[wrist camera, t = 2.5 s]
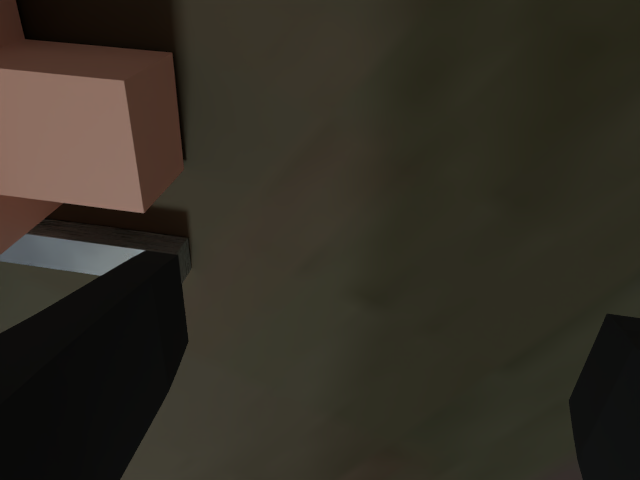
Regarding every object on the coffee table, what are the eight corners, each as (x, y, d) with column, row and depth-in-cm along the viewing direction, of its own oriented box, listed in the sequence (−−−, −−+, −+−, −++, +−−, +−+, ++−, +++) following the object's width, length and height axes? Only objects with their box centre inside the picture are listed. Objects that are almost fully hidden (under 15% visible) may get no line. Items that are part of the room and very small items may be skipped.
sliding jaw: (188, 218, 20) (136, 287, 16) (7, 195, 21) (-81, 255, 17) (165, -19, 16) (87, 5, 12) (-64, -36, 16) (-201, -19, 13)
